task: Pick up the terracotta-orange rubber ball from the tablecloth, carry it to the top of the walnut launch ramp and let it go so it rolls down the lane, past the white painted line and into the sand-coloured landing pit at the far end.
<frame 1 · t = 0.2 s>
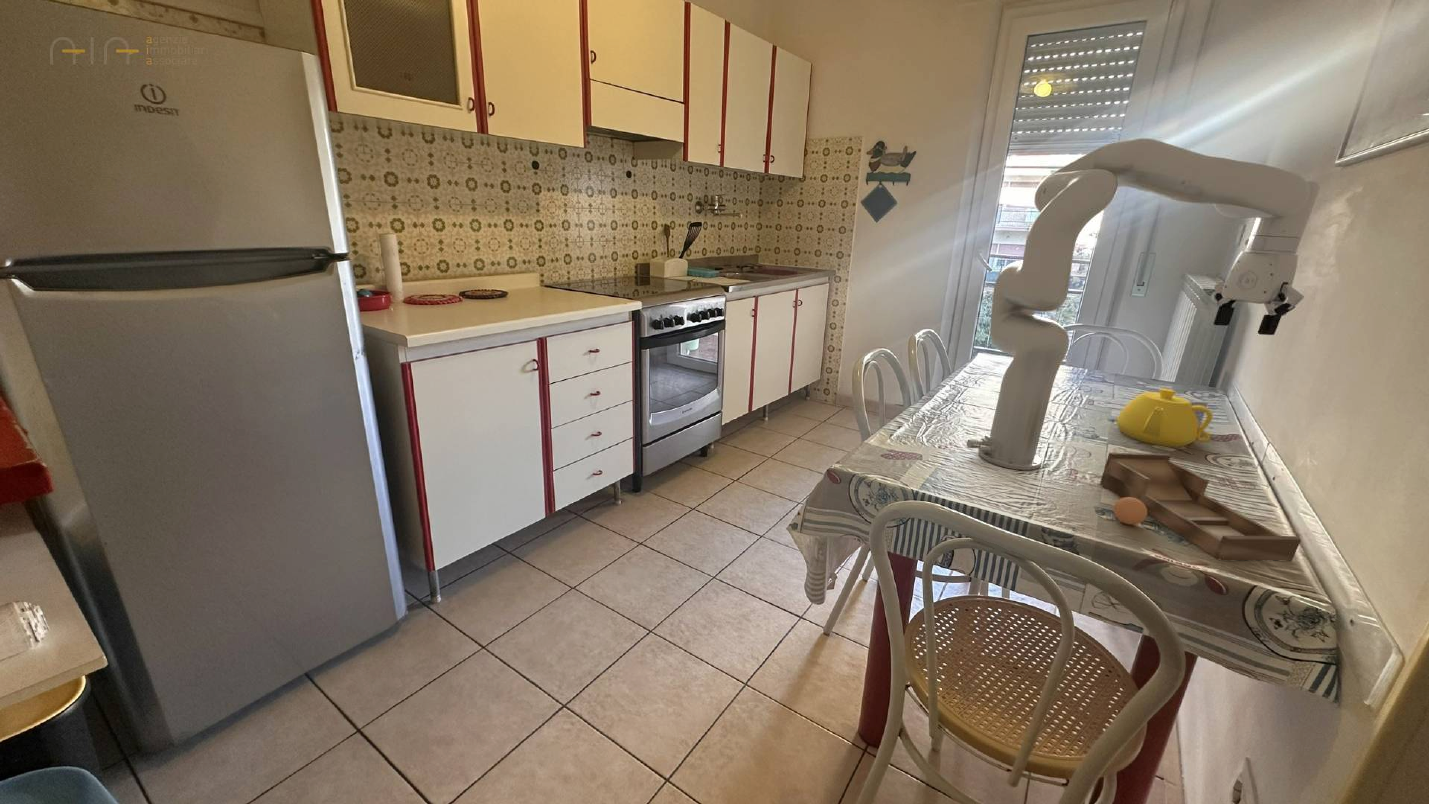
hand: (1242, 329, 119), 31 cm above the table, tool pointing down, fingers open, 9 cm apart
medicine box: (1178, 428, 152), on the table
ball: (1130, 510, 99), point 2 cm above the table
teapot: (1157, 440, 142), on the table
lane: (1184, 517, 103), on the table
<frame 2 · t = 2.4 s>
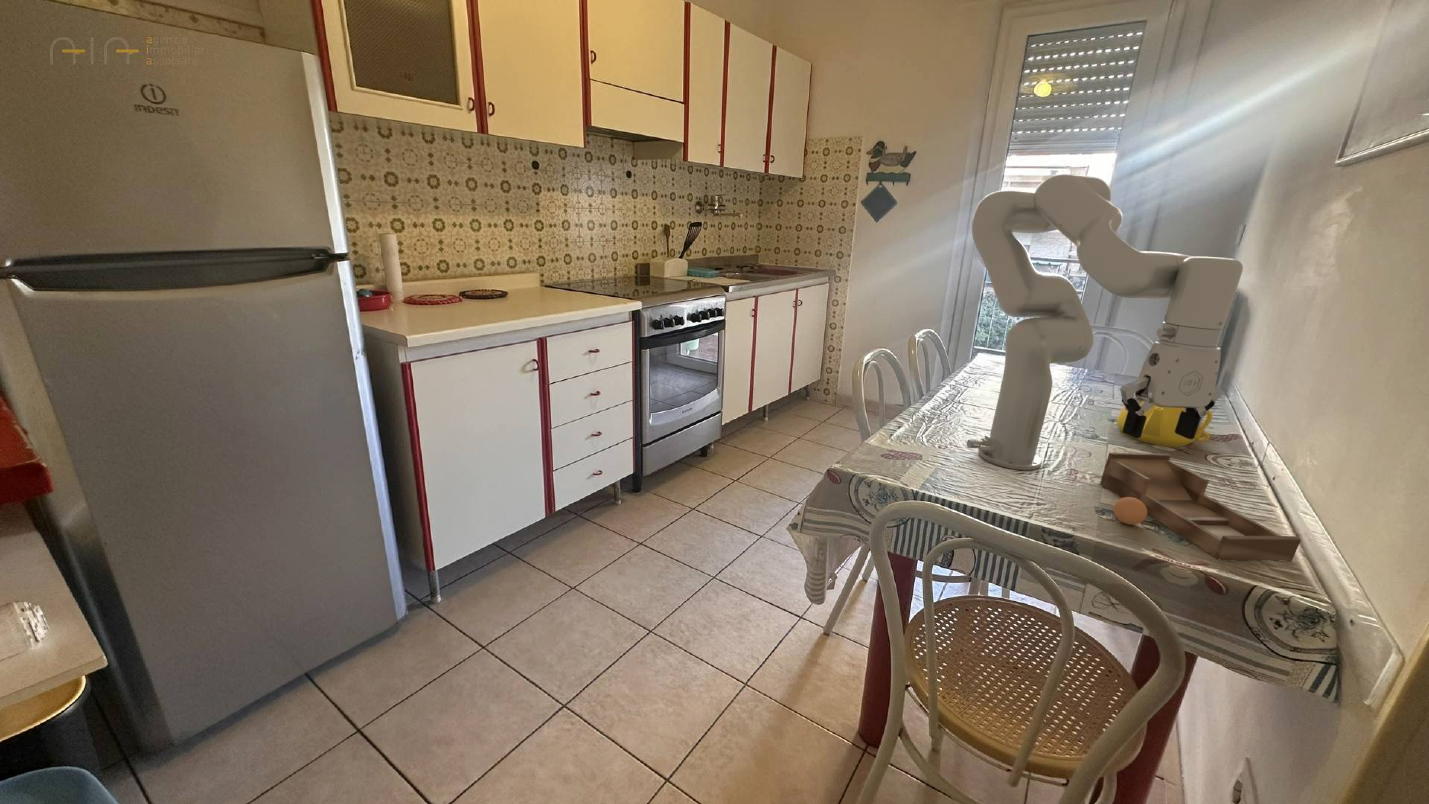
hand: (1157, 435, 95), 17 cm above the table, tool pointing down, fingers open, 9 cm apart
nothing on the table moved.
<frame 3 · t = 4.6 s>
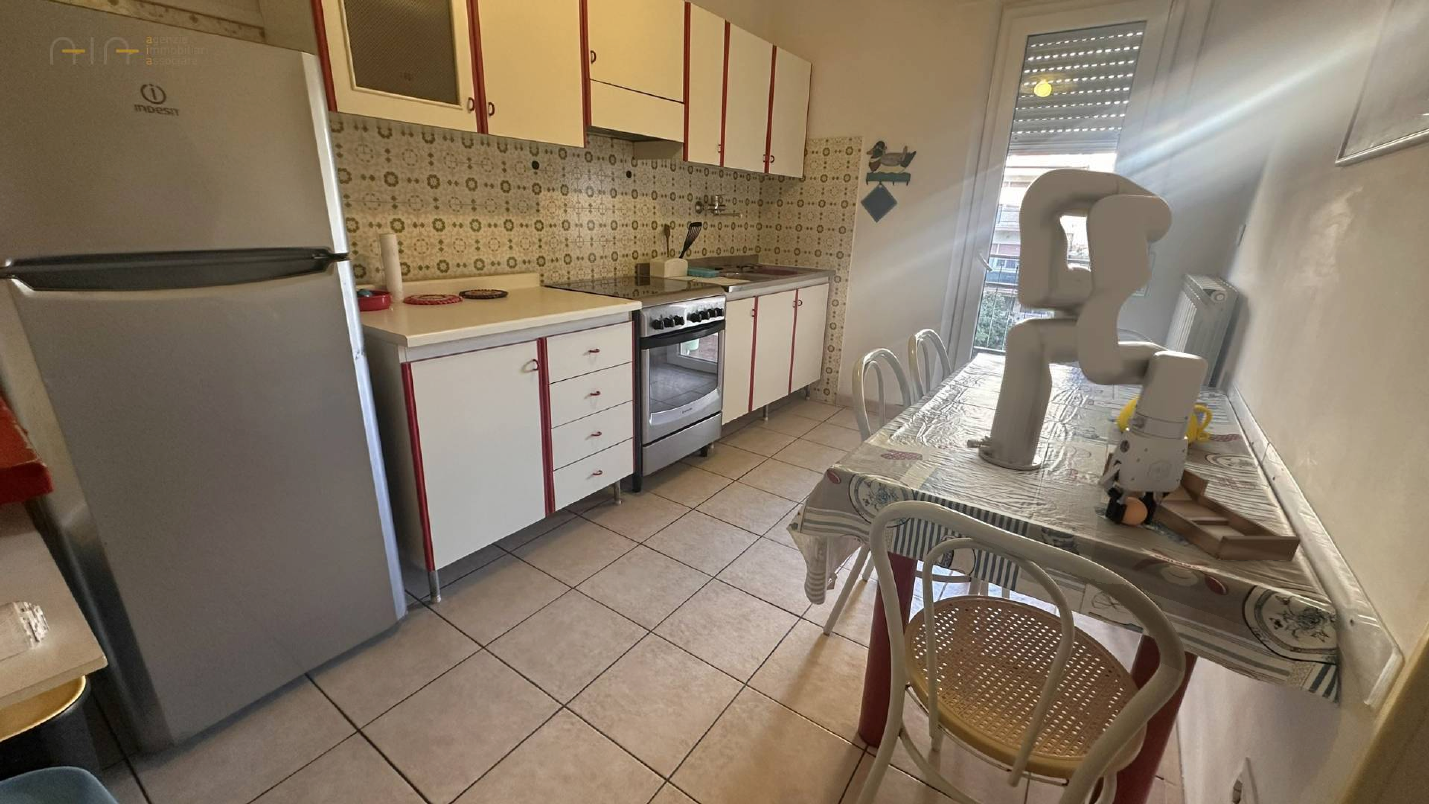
hand: (1127, 519, 100), 1 cm above the table, tool pointing down, fingers closed on ball, 4 cm apart
ball: (1130, 510, 99), point 2 cm above the table, touching gripper
everything else where it was.
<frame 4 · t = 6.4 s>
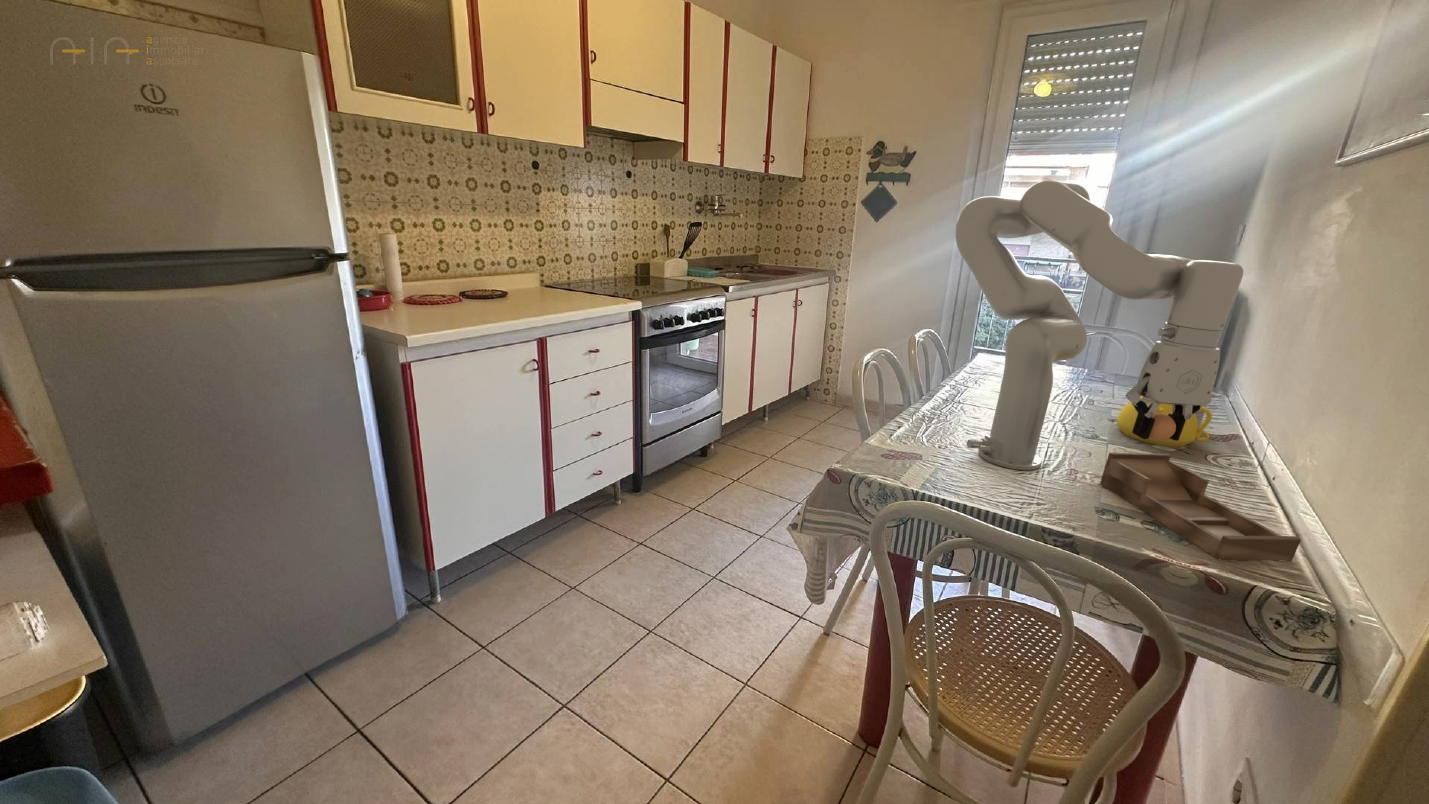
hand: (1155, 435, 100), 15 cm above the table, tool pointing down, fingers closed on ball, 4 cm apart
ball: (1158, 426, 99), point 17 cm above the table, touching gripper
everything else where it was.
when the fingers open (7 cm above the table, at t = 8.3 s): ball stays where it is, point 8 cm above the table.
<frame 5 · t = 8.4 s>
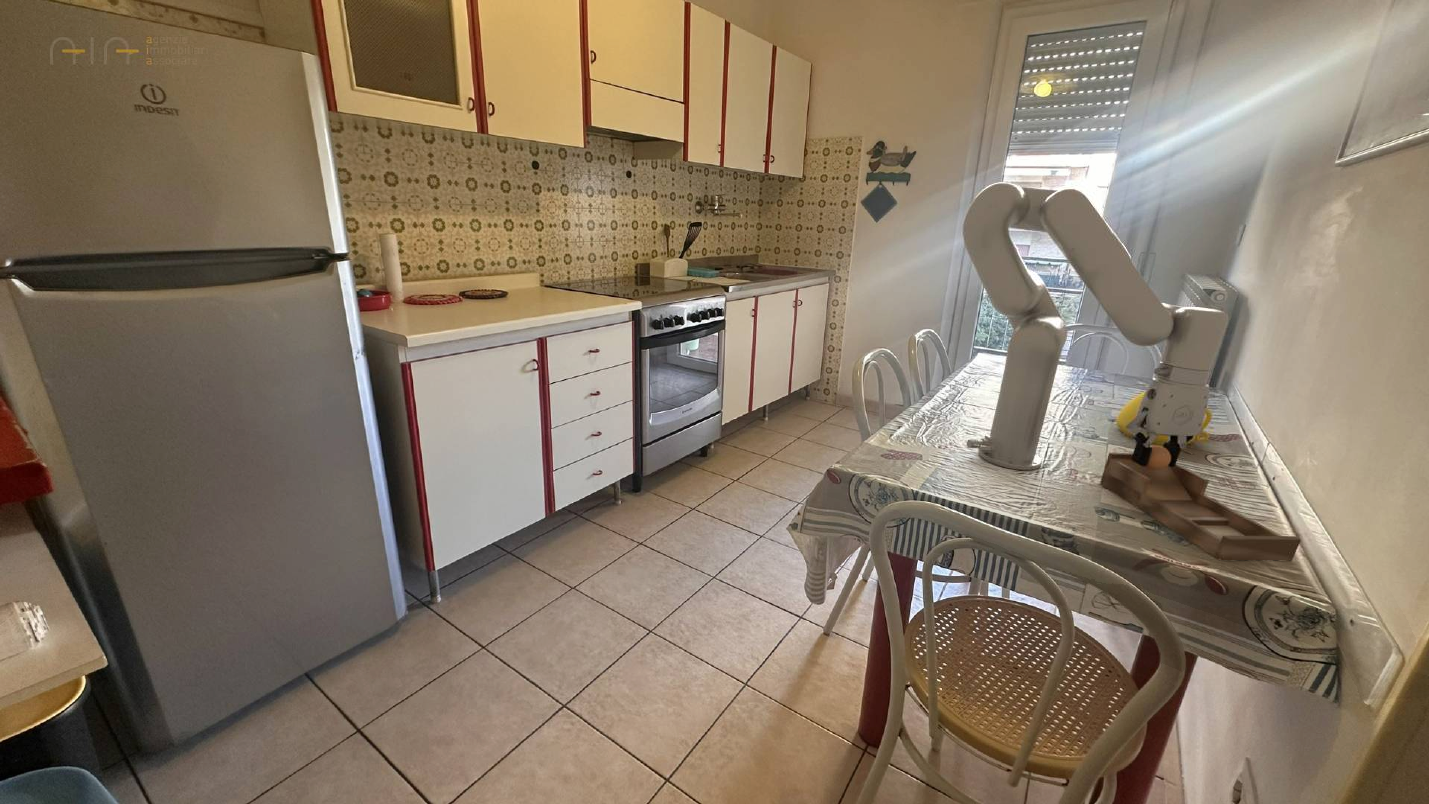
hand: (1152, 462, 110), 7 cm above the table, tool pointing down, fingers open, 5 cm apart
ball: (1155, 457, 109), point 8 cm above the table
everything else where it was.
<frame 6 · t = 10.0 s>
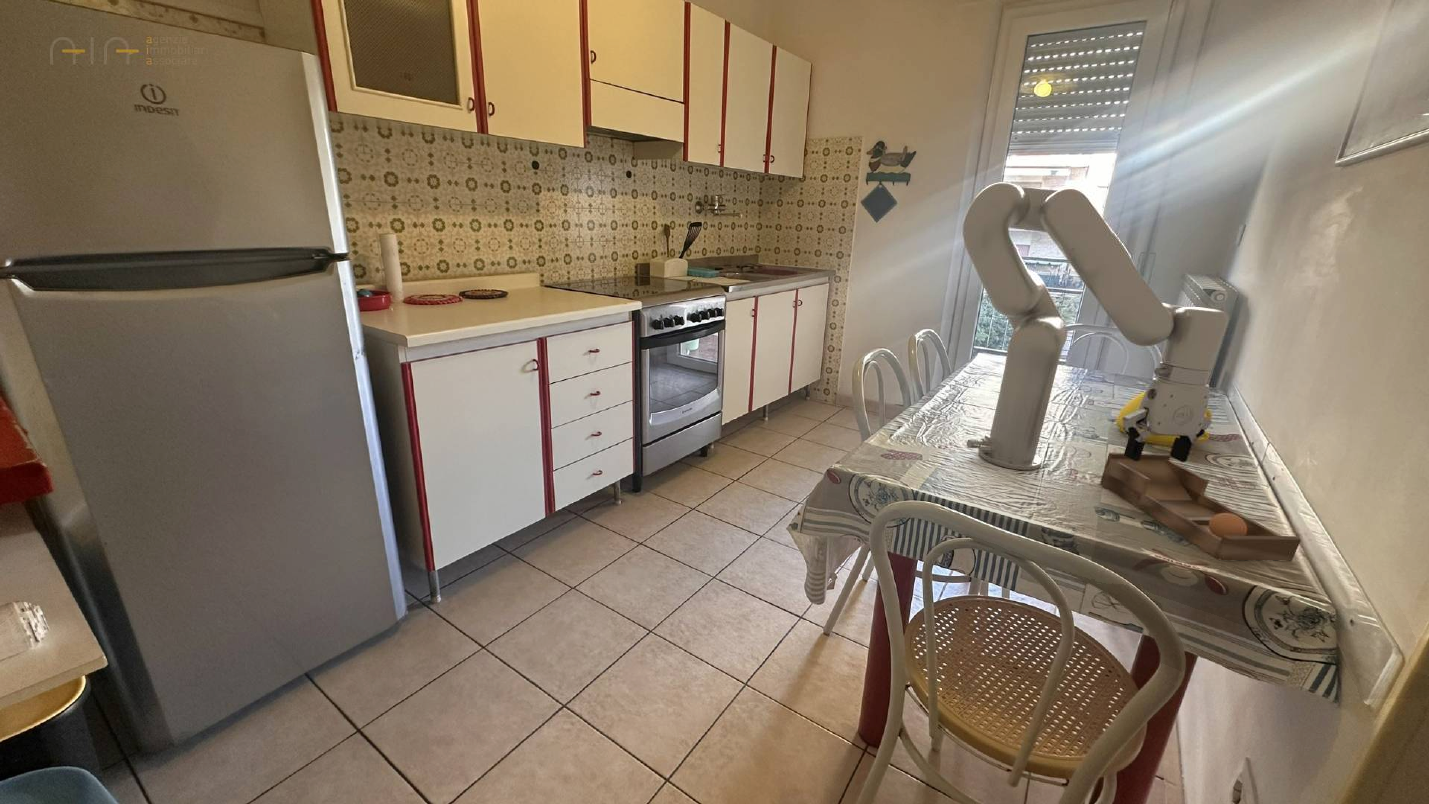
hand: (1154, 458, 110), 8 cm above the table, tool pointing down, fingers open, 9 cm apart
ball: (1227, 527, 95), point 3 cm above the table, tilted 120°, touching lane
everything else where it was.
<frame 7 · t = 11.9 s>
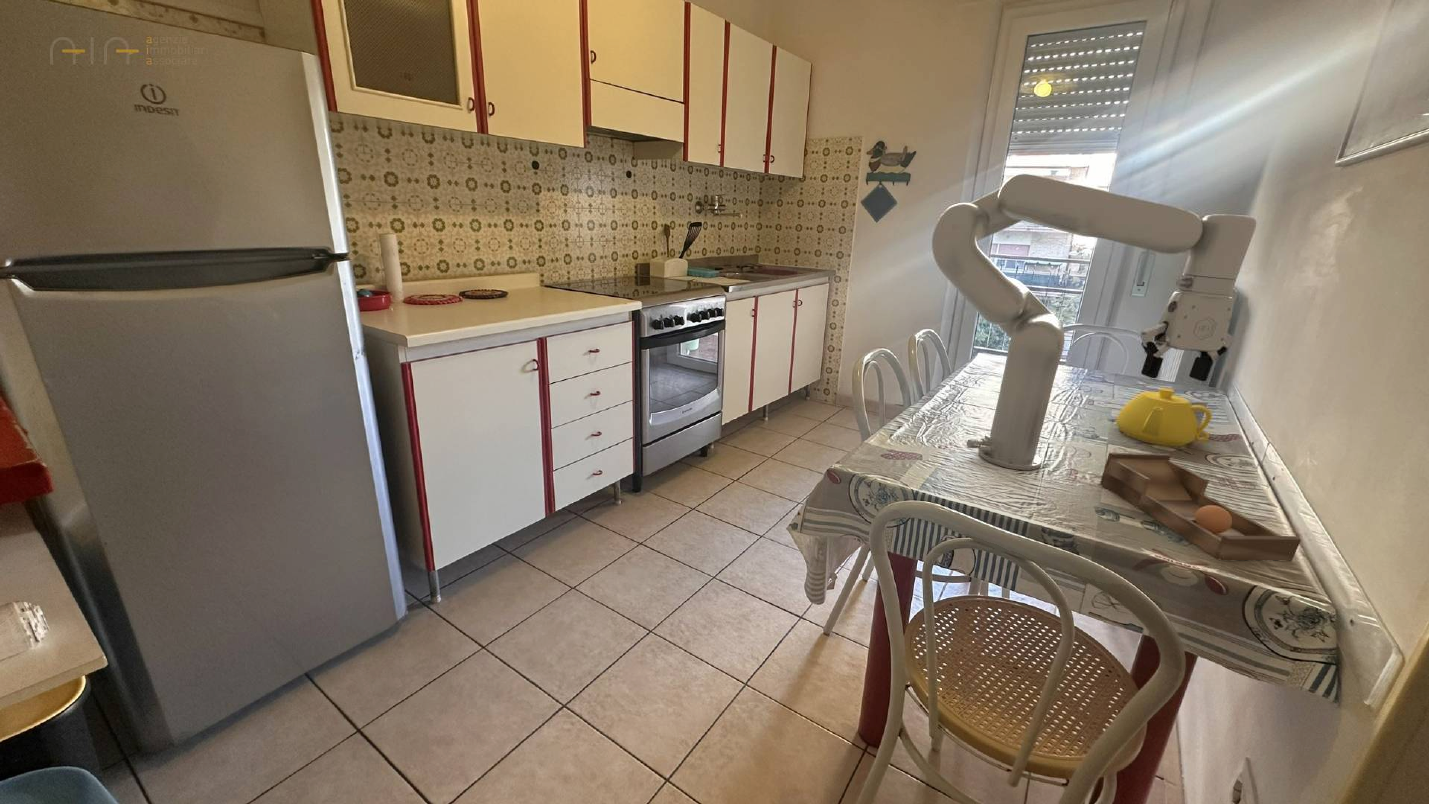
hand: (1172, 377, 106), 23 cm above the table, tool pointing down, fingers open, 9 cm apart
ball: (1213, 519, 97), point 3 cm above the table, tilted 57°, touching lane
everything else where it was.
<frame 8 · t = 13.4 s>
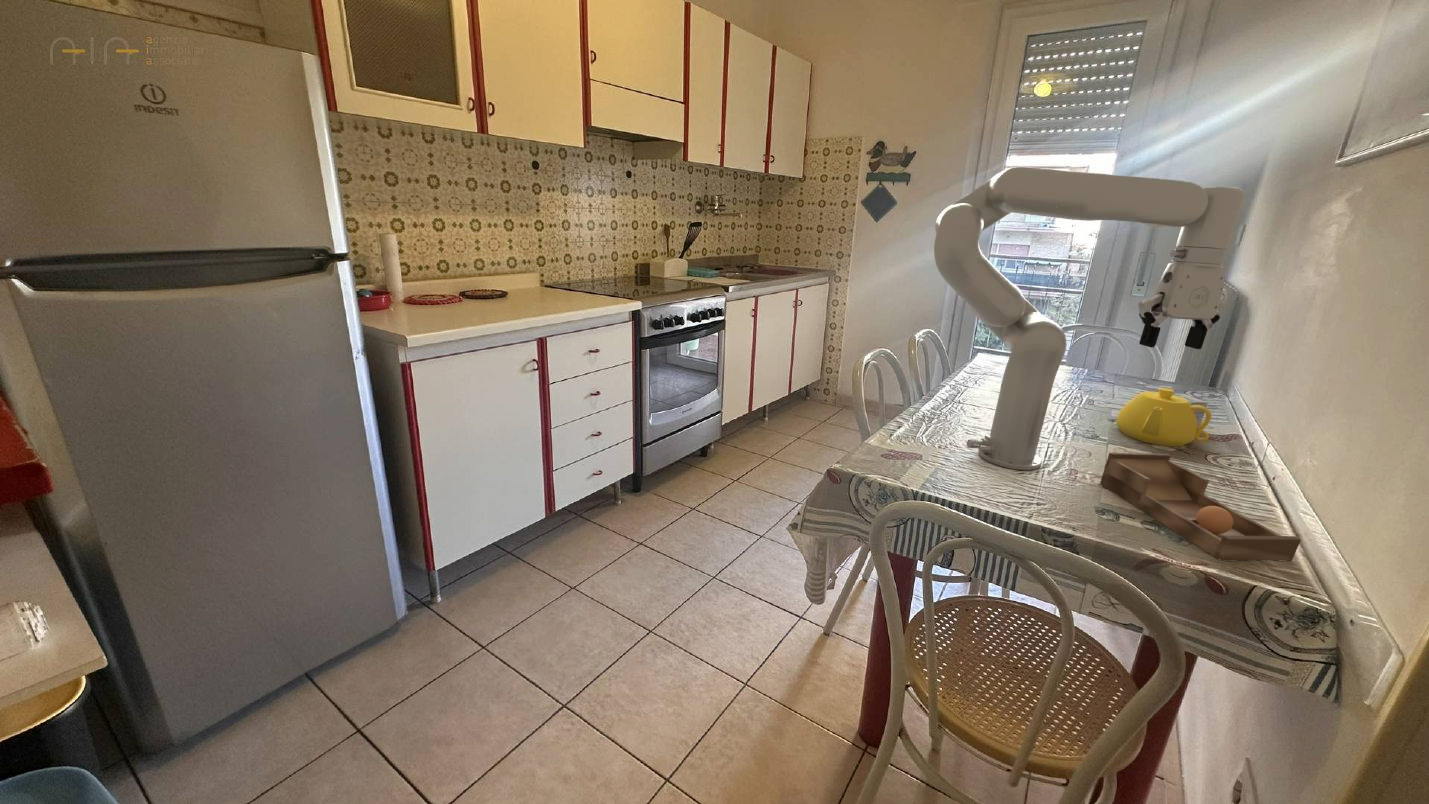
hand: (1169, 346, 110), 28 cm above the table, tool pointing down, fingers open, 9 cm apart
nothing on the table moved.
at the end: ball inside the target area on the lane (2.8 cm from its centre), point 2.6 cm above the lane's base; the gripper is holding nothing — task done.
